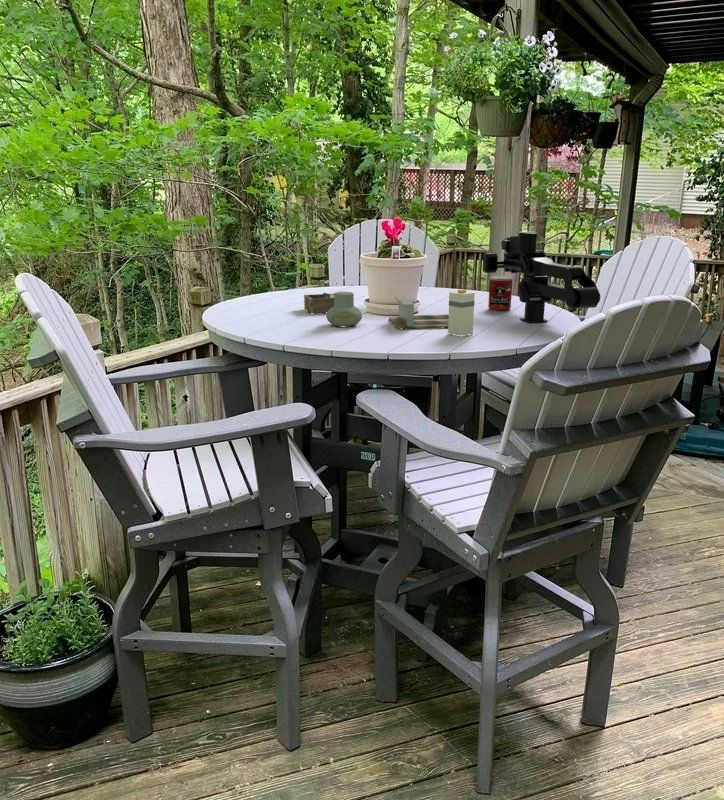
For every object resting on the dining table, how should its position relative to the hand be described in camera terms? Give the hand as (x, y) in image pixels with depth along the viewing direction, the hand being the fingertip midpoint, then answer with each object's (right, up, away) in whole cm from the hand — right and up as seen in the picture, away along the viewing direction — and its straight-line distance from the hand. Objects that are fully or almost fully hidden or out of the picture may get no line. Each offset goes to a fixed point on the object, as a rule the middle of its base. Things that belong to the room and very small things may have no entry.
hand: (497, 260), depth 235 cm
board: (-26, -24, -22) cm, 42 cm away
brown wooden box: (-58, -17, +1) cm, 61 cm away
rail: (-33, -24, -23) cm, 47 cm away
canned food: (+1, -17, +3) cm, 17 cm away
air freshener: (-52, -25, -24) cm, 62 cm away
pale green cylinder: (-18, -29, -38) cm, 51 cm away
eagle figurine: (-58, -17, 0) cm, 61 cm away
